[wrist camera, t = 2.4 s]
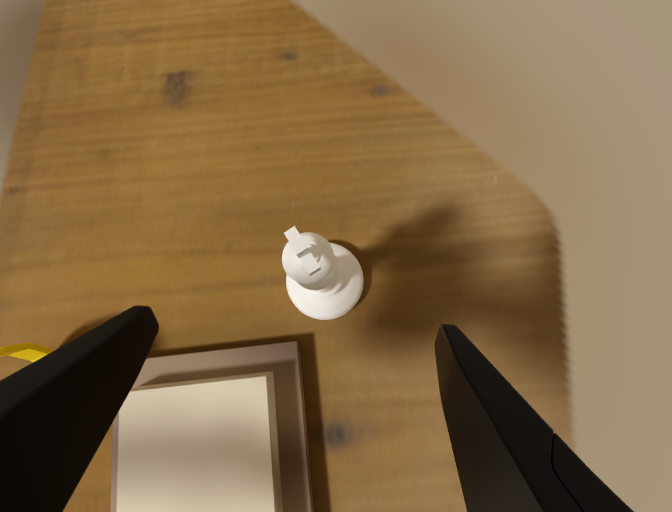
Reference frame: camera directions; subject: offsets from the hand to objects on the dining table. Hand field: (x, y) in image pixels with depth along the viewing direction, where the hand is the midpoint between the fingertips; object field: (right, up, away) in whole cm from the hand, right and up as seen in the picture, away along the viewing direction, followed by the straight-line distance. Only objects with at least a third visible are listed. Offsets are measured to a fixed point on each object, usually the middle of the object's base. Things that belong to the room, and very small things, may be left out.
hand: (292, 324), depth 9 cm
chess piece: (+1, 0, +10) cm, 10 cm away
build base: (-6, -9, +8) cm, 14 cm away
